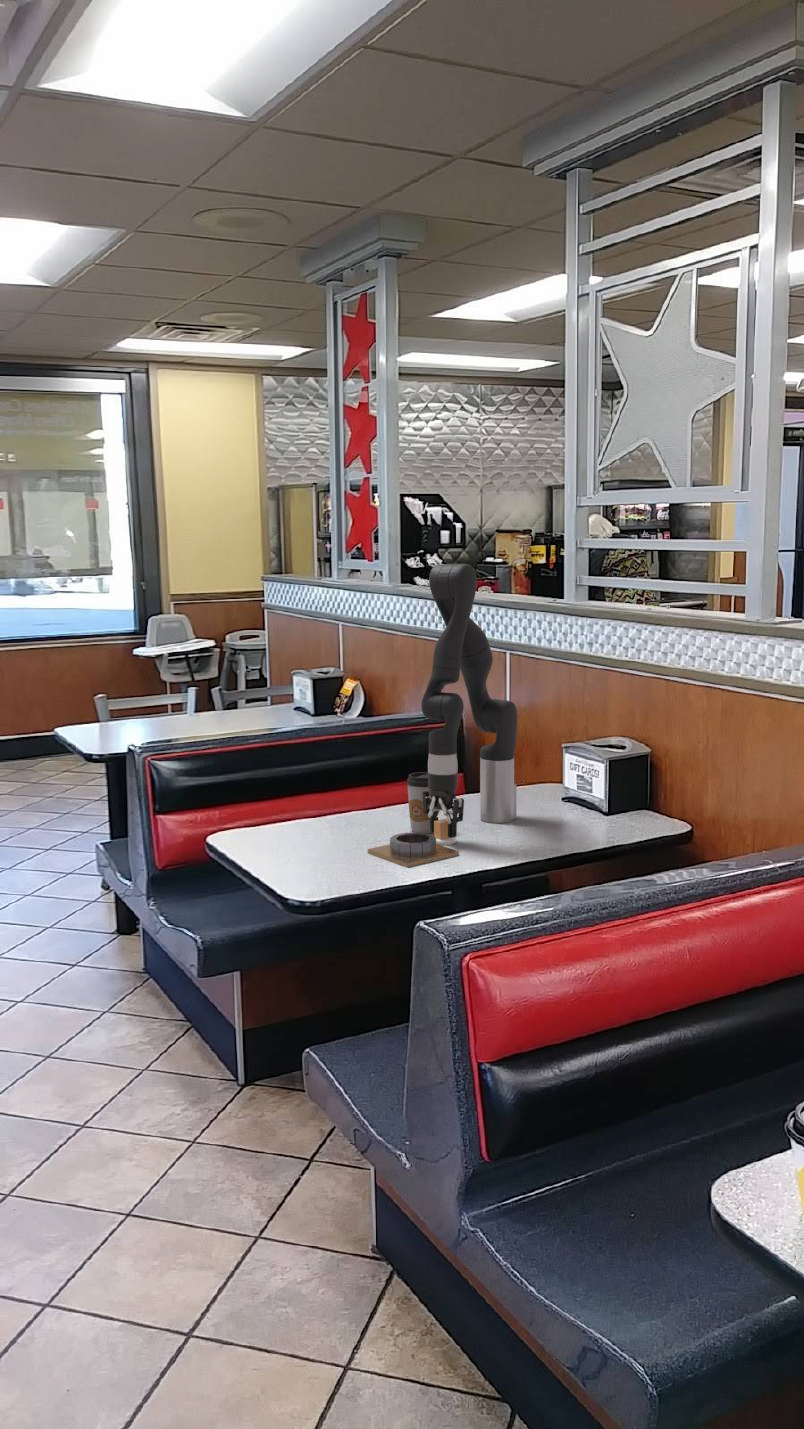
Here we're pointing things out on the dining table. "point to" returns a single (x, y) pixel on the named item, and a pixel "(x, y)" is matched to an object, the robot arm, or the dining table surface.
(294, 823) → the dining table surface
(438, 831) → the cap
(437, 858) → the board with grey ring
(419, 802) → the coffee cup
